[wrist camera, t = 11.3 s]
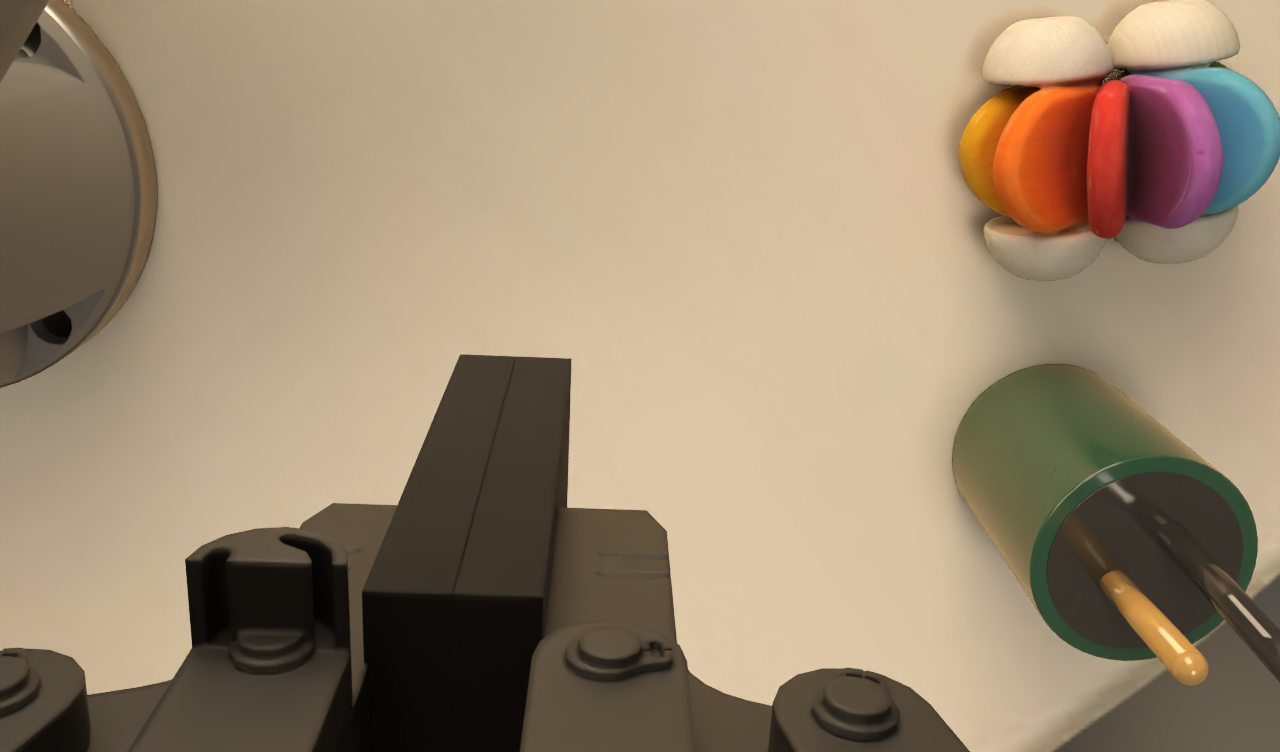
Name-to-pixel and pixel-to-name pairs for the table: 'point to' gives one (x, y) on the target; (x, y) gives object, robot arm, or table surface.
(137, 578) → the table surface
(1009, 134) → the rainbow disc baby rattle
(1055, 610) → the pen cup
